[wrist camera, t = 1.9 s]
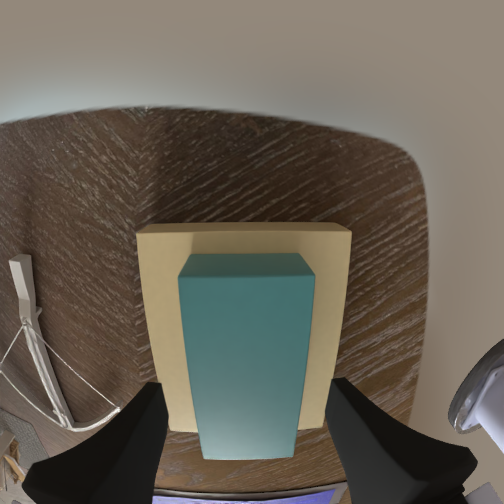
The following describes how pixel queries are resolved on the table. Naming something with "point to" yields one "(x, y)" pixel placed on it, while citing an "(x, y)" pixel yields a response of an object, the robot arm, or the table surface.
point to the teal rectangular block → (246, 350)
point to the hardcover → (242, 242)
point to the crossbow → (43, 354)
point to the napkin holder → (17, 448)
